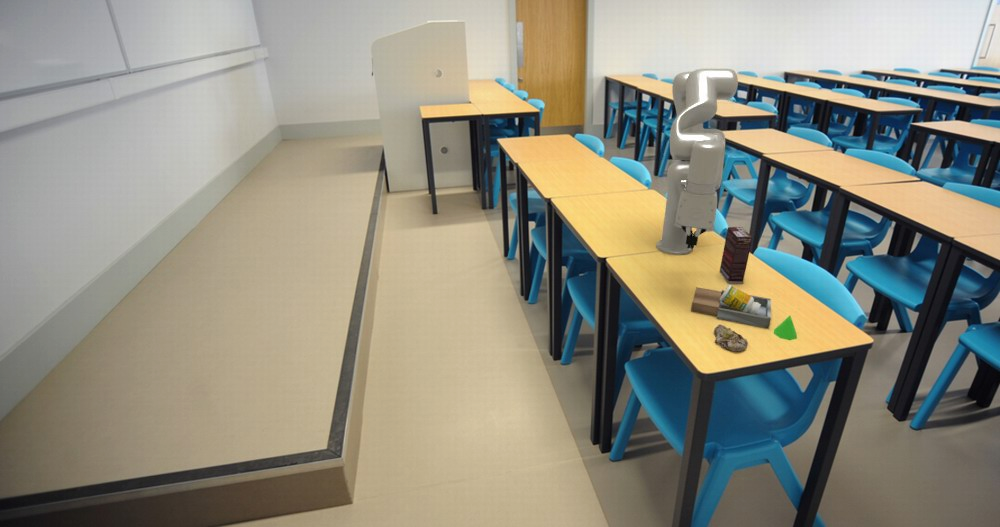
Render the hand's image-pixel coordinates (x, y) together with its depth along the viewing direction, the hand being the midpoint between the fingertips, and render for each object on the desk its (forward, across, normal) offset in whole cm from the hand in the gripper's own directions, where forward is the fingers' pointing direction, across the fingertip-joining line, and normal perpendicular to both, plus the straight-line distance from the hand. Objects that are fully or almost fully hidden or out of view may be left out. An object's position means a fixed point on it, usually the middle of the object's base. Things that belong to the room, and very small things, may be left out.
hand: (690, 246), depth 151 cm
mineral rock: (+15, +14, -22) cm, 30 cm away
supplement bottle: (+10, +11, -6) cm, 16 cm away
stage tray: (+15, +12, -6) cm, 21 cm away
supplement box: (+16, +12, +16) cm, 26 cm away
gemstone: (+15, +28, -13) cm, 34 cm away
